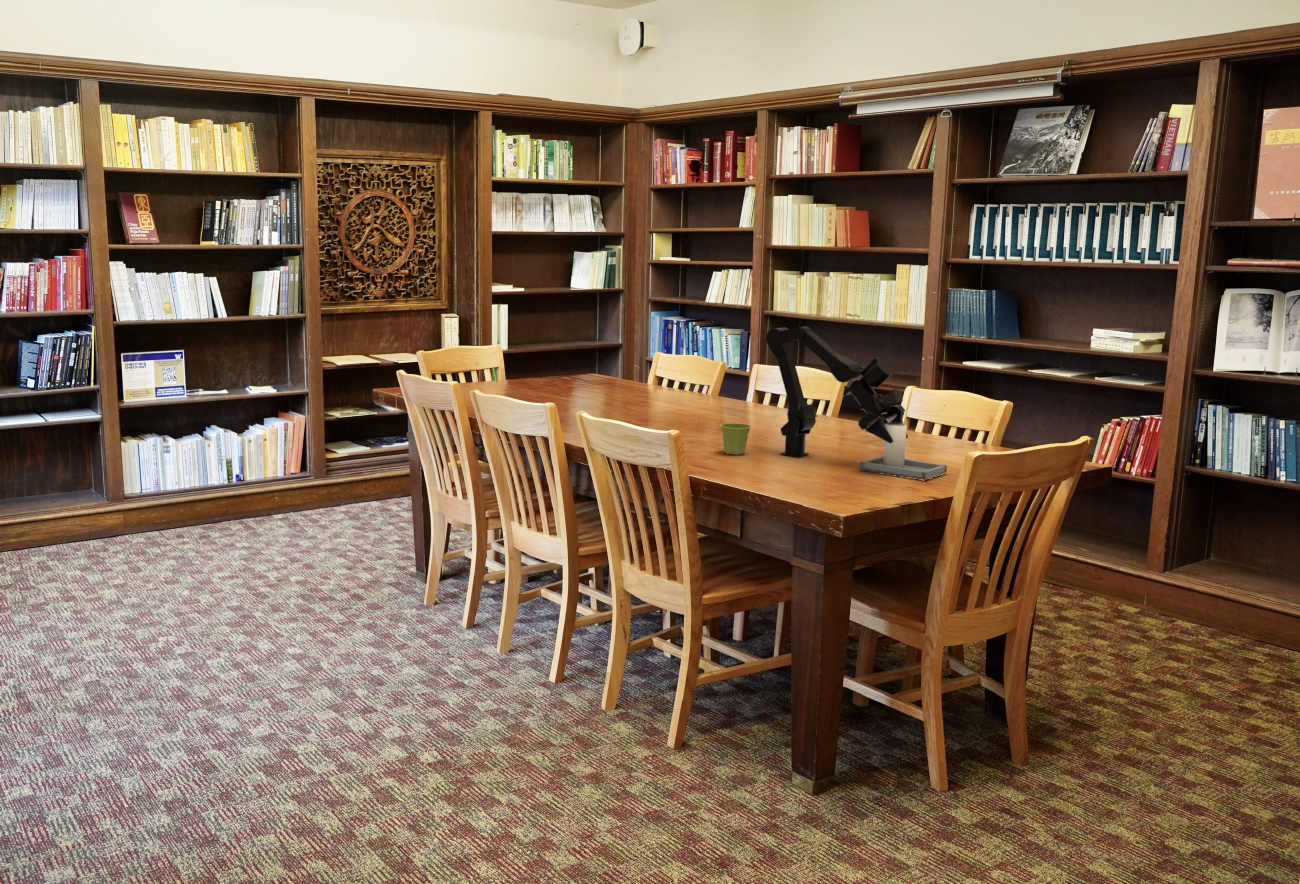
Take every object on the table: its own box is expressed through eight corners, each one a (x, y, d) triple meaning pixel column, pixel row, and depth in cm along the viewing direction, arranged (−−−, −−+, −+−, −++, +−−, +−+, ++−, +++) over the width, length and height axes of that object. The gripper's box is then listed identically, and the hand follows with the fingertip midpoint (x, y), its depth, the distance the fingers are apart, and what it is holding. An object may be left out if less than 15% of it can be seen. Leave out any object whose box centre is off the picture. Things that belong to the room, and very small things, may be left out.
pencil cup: (892, 470, 316) (894, 426, 314) (878, 466, 321) (880, 423, 319) (908, 468, 319) (911, 425, 316) (894, 464, 324) (897, 422, 322)
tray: (924, 481, 307) (925, 472, 306) (859, 470, 319) (860, 462, 319) (946, 474, 317) (947, 465, 317) (882, 463, 330) (883, 455, 329)
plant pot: (724, 457, 334) (726, 428, 332) (714, 451, 343) (715, 423, 341) (754, 456, 336) (755, 427, 335) (743, 450, 345) (744, 422, 344)
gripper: (870, 382, 311) (904, 426, 306) (901, 377, 325) (933, 419, 320) (844, 407, 317) (876, 451, 312) (875, 401, 331) (906, 442, 327)
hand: (899, 440), depth 318 cm, fingers open, 9 cm apart
